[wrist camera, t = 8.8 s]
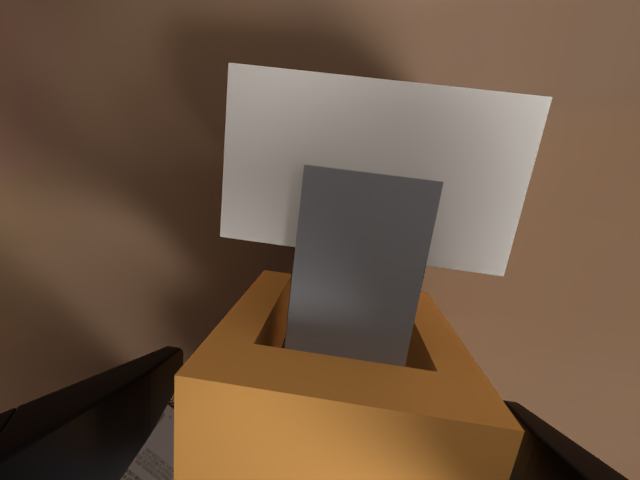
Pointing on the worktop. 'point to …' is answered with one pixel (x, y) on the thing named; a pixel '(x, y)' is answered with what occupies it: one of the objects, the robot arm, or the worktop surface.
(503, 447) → the orange u-channel
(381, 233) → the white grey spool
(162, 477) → the coffee box
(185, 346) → the worktop surface
